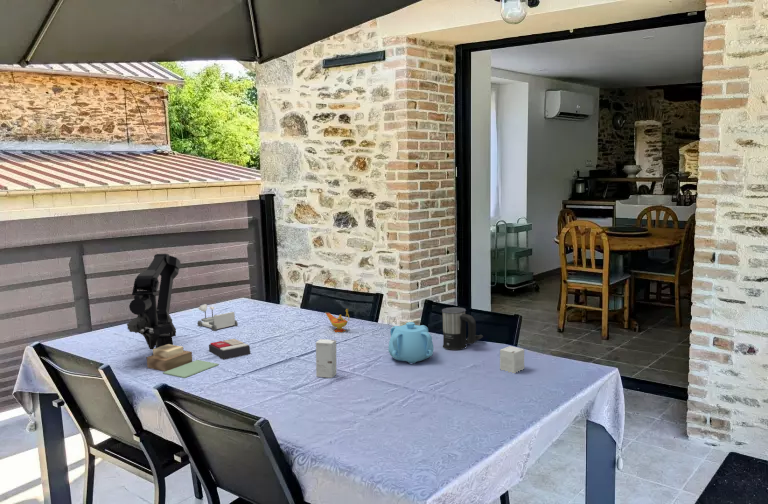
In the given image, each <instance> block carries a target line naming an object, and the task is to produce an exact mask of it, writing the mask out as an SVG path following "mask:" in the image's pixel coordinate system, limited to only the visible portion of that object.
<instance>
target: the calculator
mask: <svg viewBox="0 0 768 504" xmlns="http://www.w3.org/2000/svg"><path fill="white" fill-rule="evenodd" d="M208 350H209V352H210V353H212V354H213V355H216V356H217V357H218V358H219V359H221V360H229V359H233V358H239V357H242V356H244V357H245V356H248V355H251V347H250V345H249V344H248V343H244V342H243V341H241V340H238V339H236V338H230V339H226V340H221V341H220V340H219V341H214V342H210V343H209V344H208Z"/></svg>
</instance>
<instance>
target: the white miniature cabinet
mask: <svg viewBox="0 0 768 504" xmlns="http://www.w3.org/2000/svg"><path fill="white" fill-rule="evenodd" d="M315 363H316V364H315V369H316V370H315V375H316V377H319V378H327V379H333V378H334V377H335V376H336V375H337V340H336V339H323V338H320V339H319V340H317V341H316V342H315Z"/></svg>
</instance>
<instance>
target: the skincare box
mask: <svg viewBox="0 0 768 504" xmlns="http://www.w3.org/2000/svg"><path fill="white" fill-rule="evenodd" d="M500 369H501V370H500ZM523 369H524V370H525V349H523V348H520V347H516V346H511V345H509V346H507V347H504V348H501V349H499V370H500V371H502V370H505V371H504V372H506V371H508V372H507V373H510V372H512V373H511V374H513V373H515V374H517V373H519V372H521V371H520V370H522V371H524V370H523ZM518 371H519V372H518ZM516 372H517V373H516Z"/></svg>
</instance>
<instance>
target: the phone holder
mask: <svg viewBox="0 0 768 504" xmlns="http://www.w3.org/2000/svg"><path fill="white" fill-rule="evenodd" d="M198 309H199V311H200V312H203V313H204V318H201V319H200V320H198V321H197V322H196V323H197V326H198V327H199V328H202V327H206V328H211V330H212V331H213V332H217V330H219V329H224V328H228V327H232V326H233V327H238V325H239V324H238V323H239V322H238V320H236V318H235V314H236V313H235V311H230V312H224V313H221V314H214V313H213V311H214V310H215V307H214V306H209V310H211V316H209V317H207V313H206V311H207V309H208V304H206V303H204V304H202V303H201V305H200V306H198Z"/></svg>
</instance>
